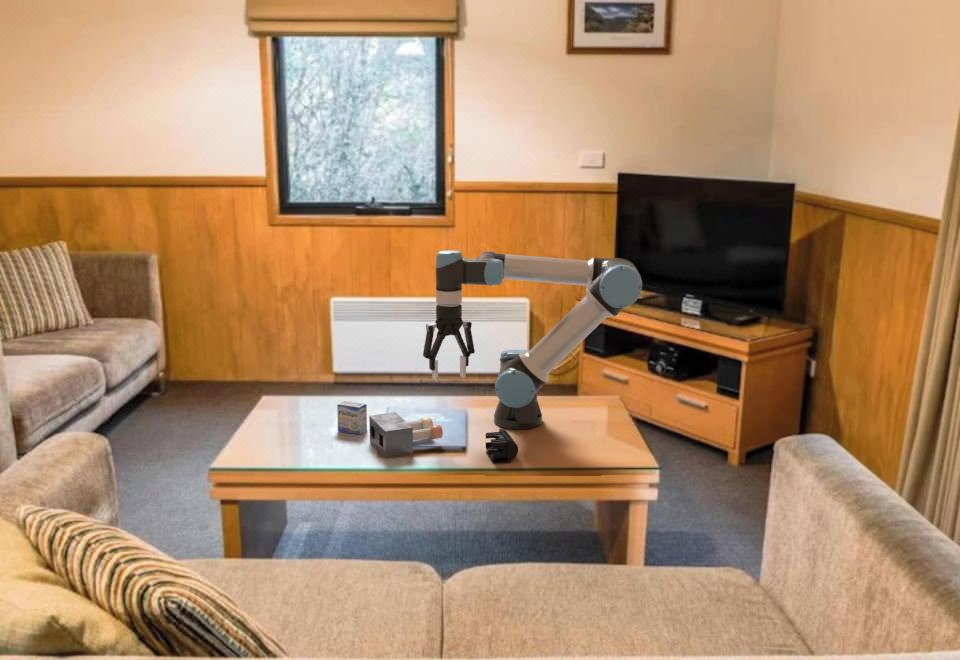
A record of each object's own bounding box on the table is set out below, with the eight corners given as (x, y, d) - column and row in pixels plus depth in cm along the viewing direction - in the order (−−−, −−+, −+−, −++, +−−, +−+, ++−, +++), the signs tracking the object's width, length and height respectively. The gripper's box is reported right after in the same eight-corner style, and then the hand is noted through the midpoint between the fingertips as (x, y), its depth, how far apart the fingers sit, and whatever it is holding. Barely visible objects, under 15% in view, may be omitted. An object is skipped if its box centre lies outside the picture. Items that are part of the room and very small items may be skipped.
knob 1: (428, 427, 257) (428, 415, 256) (433, 431, 254) (432, 419, 253) (380, 434, 251) (380, 422, 250) (384, 438, 248) (384, 426, 247)
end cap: (518, 462, 236) (518, 439, 235) (493, 464, 235) (493, 441, 233) (509, 449, 246) (509, 427, 244) (485, 451, 244) (485, 429, 243)
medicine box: (337, 431, 260) (336, 404, 258) (345, 427, 264) (344, 400, 262) (360, 435, 257) (359, 407, 255) (367, 430, 261) (366, 403, 259)
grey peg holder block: (395, 437, 255) (395, 412, 253) (412, 454, 242) (412, 427, 240) (369, 441, 251) (369, 415, 249) (386, 458, 239) (385, 431, 237)
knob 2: (437, 435, 251) (437, 423, 250) (442, 439, 247) (442, 427, 246) (389, 442, 244) (388, 430, 244) (393, 447, 241) (393, 434, 240)
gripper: (476, 298, 257) (475, 371, 262) (410, 304, 248) (411, 379, 254) (487, 303, 251) (486, 377, 256) (419, 309, 242) (420, 386, 247)
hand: (449, 378), depth 255 cm, fingers open, 8 cm apart
